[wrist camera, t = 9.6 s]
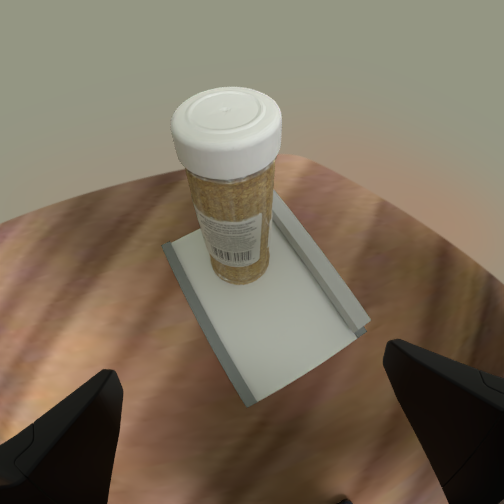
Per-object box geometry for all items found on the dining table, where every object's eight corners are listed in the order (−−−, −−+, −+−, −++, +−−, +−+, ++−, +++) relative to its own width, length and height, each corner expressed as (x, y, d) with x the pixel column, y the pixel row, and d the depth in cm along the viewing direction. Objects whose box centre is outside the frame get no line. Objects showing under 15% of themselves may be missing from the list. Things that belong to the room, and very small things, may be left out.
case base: (362, 333, 20) (375, 325, 18) (247, 406, 18) (246, 409, 16) (268, 202, 26) (269, 184, 24) (165, 253, 24) (157, 238, 21)
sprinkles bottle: (278, 247, 23) (299, 96, 11) (253, 297, 21) (251, 159, 9) (227, 226, 24) (207, 76, 12) (199, 271, 22) (145, 129, 10)
